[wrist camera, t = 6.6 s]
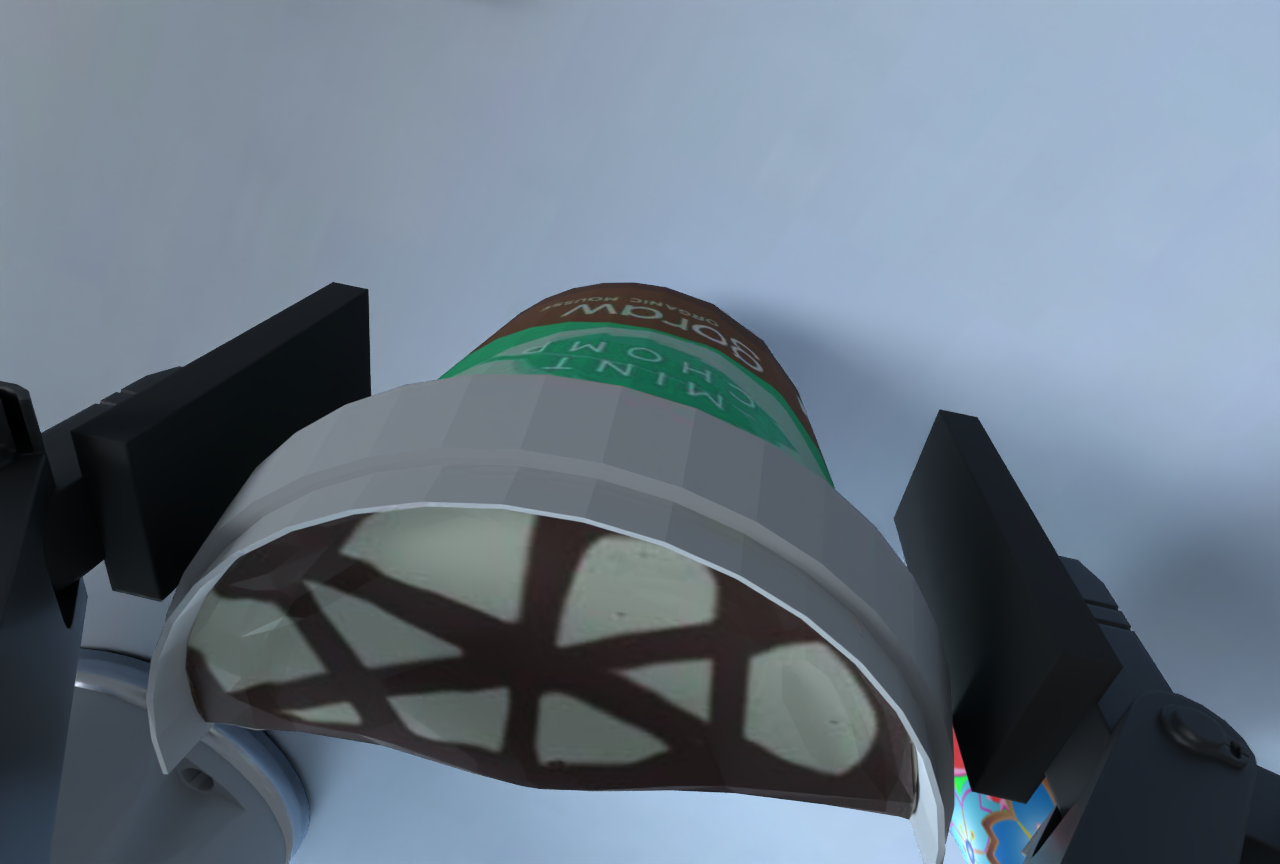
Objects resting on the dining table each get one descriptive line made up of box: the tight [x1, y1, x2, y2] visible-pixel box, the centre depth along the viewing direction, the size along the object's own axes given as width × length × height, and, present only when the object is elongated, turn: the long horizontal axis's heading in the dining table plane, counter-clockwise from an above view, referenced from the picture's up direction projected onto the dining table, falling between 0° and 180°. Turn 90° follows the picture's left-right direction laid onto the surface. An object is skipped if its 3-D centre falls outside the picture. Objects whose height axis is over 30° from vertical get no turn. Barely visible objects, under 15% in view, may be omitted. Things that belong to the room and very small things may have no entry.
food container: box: [146, 283, 955, 864], centre depth 13 cm, size 12×6×10 cm, turn 89°
